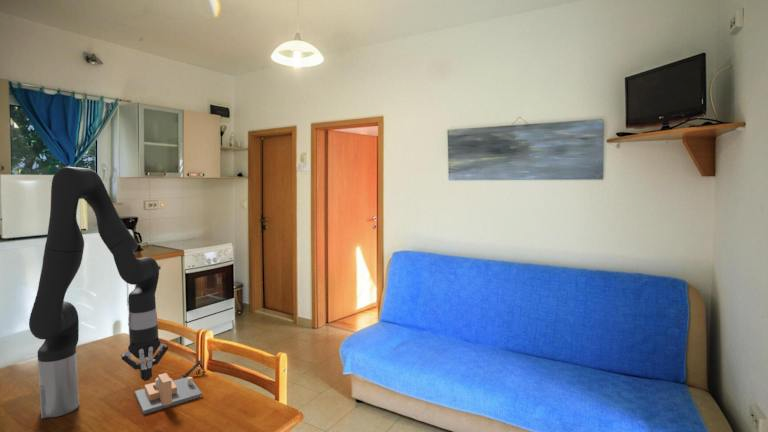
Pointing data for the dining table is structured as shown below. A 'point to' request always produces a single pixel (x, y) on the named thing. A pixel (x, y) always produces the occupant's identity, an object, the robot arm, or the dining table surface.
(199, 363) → the wooden post with brackets
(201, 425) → the dining table surface
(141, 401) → the post base
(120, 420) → the dining table surface
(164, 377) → the peach open lidded box
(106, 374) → the dining table surface
